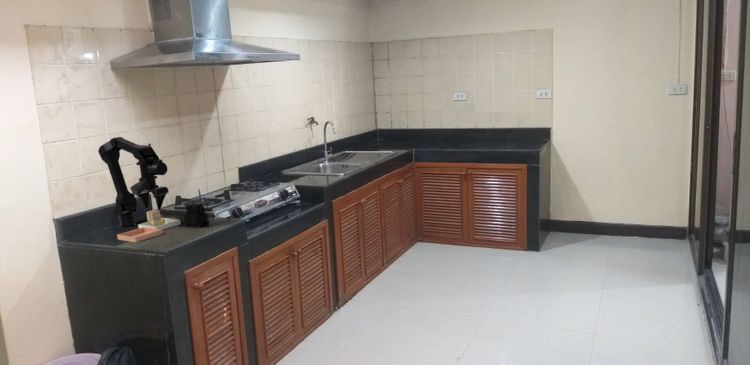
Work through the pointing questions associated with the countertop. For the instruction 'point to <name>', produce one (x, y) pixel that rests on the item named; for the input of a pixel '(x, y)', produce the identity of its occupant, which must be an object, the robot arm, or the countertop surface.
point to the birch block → (154, 218)
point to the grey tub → (167, 224)
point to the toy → (196, 216)
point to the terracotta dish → (139, 234)
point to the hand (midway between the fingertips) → (152, 208)
